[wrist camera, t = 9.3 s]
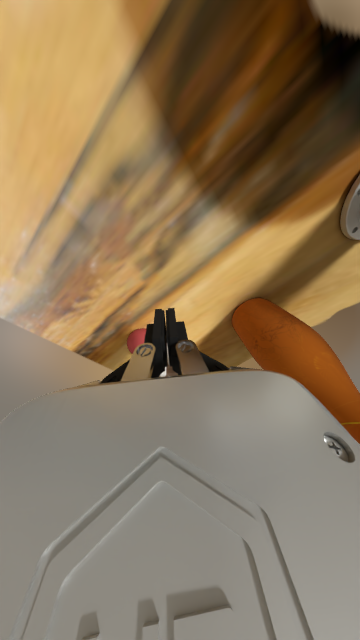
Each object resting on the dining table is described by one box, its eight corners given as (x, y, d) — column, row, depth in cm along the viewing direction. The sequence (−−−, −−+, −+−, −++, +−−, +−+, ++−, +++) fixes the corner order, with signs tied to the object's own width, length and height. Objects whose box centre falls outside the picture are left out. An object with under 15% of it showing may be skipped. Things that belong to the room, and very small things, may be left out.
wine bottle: (220, 322, 32) (418, 640, 7) (251, 287, 28) (1002, 774, 3) (248, 336, 36) (446, 583, 11) (279, 307, 31) (732, 605, 6)
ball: (160, 351, 32) (158, 349, 26) (136, 360, 31) (127, 361, 25) (152, 327, 33) (148, 321, 27) (128, 336, 32) (119, 331, 26)
